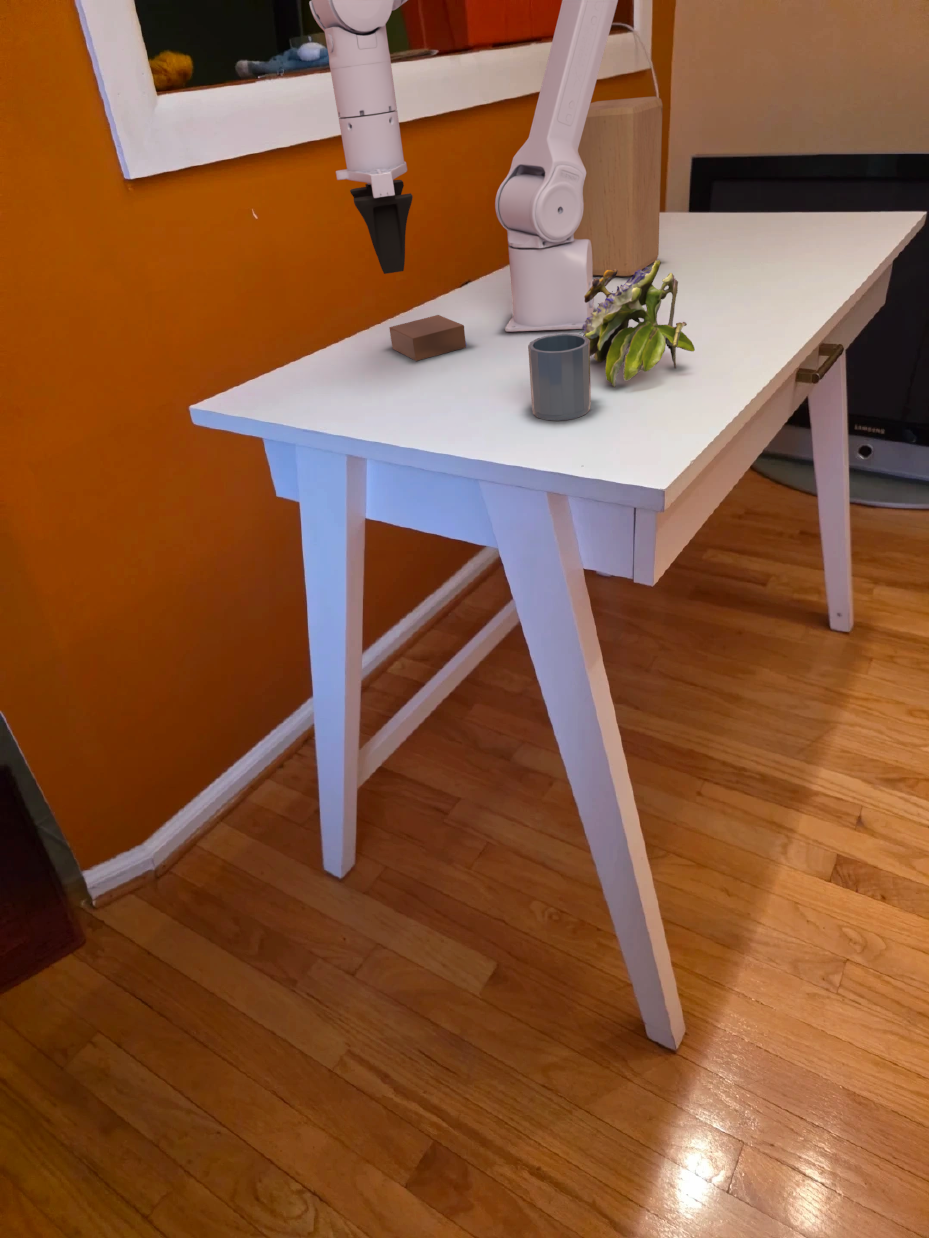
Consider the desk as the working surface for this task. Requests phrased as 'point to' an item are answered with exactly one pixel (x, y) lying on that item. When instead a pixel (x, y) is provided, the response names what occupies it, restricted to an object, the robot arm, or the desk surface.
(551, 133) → the robot arm
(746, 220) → the desk surface
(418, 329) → the block
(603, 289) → the passion flower
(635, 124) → the wooden block
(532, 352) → the cup
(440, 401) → the desk surface
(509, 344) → the desk surface
